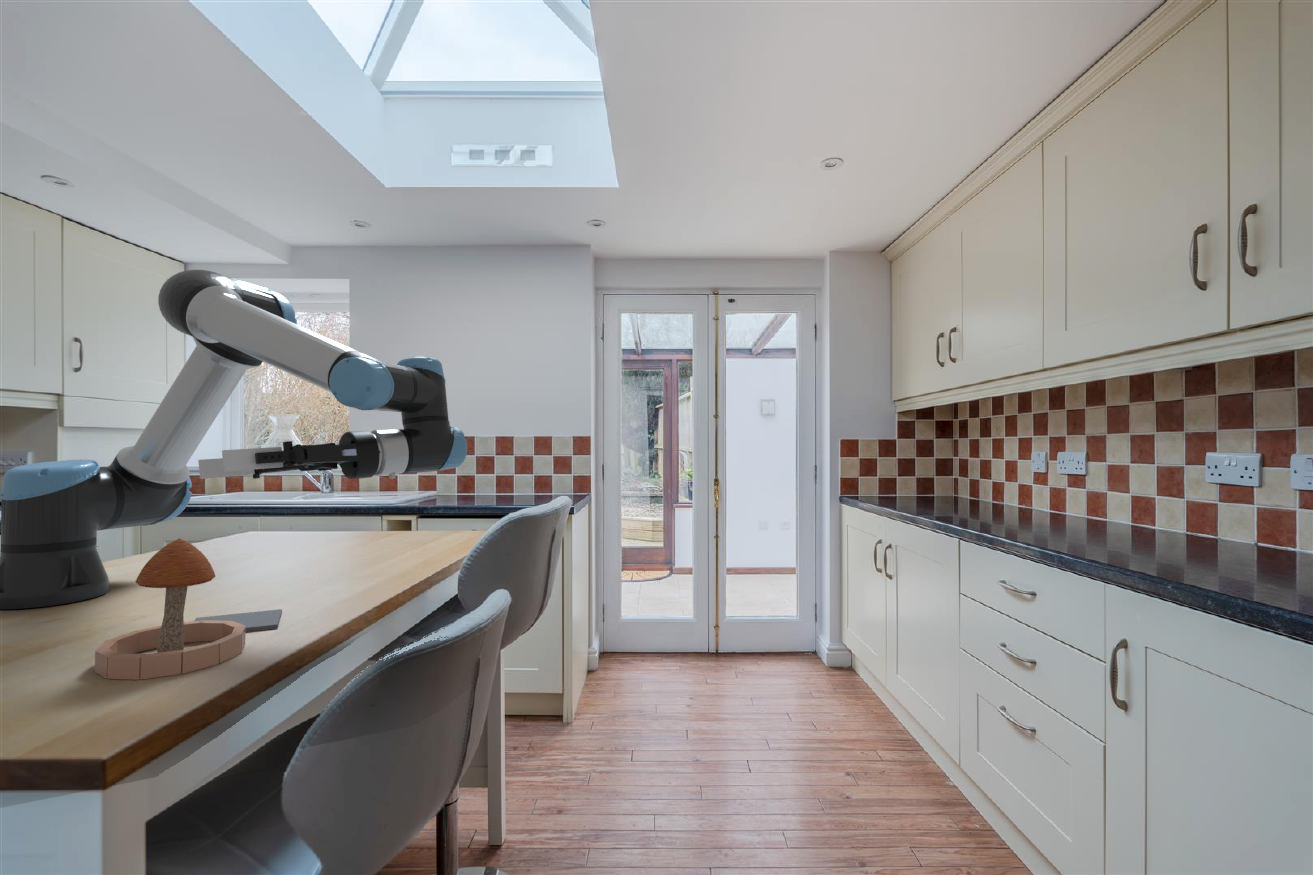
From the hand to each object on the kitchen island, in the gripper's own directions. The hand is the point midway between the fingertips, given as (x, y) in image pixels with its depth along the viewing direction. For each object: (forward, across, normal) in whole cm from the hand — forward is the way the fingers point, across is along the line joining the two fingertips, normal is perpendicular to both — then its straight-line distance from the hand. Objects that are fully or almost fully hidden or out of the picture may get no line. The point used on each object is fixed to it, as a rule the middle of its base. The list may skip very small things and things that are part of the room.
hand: (210, 465), depth 81 cm
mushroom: (+6, 0, -24) cm, 25 cm away
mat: (-3, +10, -23) cm, 26 cm away
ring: (+6, 0, -24) cm, 25 cm away
